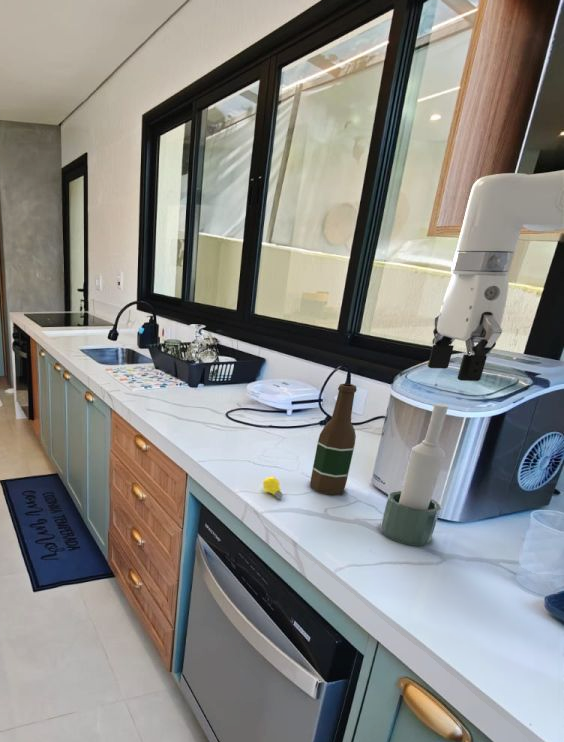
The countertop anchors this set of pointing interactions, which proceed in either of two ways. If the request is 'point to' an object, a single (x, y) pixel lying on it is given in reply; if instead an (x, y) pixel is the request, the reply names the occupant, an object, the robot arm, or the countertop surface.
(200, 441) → the countertop surface
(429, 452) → the bottle
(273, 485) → the light bulb
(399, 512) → the holder
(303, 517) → the countertop surface
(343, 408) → the beer bottle
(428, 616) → the countertop surface
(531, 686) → the countertop surface
